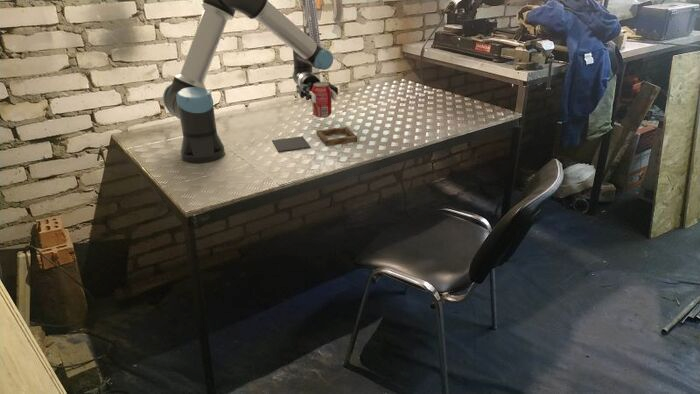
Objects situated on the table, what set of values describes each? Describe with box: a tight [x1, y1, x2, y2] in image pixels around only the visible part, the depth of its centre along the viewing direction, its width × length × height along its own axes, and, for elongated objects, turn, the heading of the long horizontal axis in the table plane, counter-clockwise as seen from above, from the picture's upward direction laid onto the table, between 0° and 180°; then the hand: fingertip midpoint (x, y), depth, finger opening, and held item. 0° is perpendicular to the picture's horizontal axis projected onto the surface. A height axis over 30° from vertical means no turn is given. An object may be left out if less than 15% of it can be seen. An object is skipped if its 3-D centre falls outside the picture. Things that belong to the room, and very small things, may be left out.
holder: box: [316, 126, 358, 147], centre depth 198 cm, size 12×12×2 cm
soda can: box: [311, 81, 332, 119], centre depth 191 cm, size 7×7×12 cm
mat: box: [271, 136, 311, 153], centre depth 194 cm, size 12×12×1 cm
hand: (325, 98), depth 185 cm, fingers closed on soda can, 7 cm apart
